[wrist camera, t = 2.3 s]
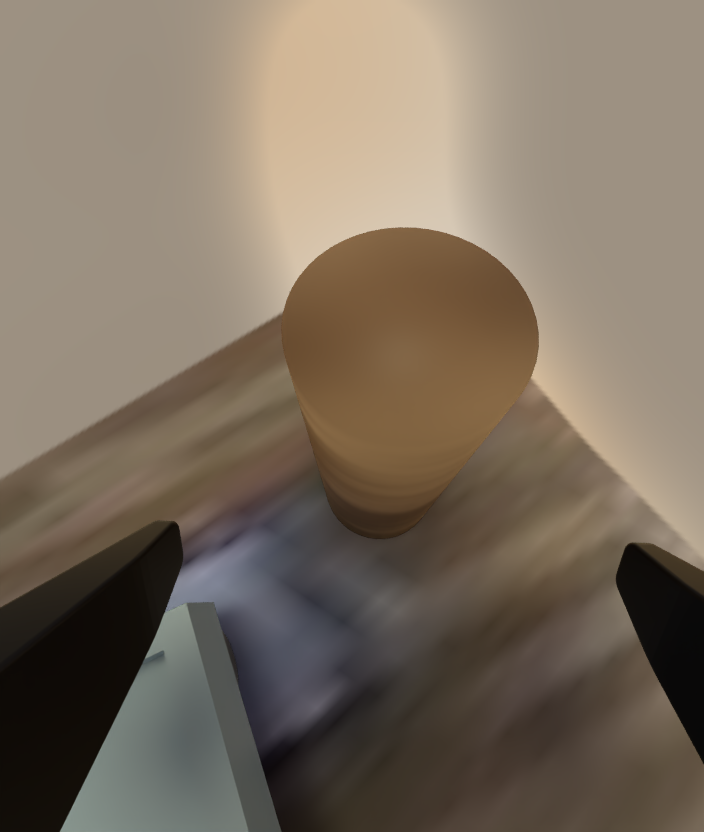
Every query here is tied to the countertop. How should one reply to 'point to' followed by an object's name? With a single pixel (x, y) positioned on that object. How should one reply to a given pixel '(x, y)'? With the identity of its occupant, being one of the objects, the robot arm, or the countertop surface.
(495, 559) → the countertop surface
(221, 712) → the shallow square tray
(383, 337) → the walnut post
